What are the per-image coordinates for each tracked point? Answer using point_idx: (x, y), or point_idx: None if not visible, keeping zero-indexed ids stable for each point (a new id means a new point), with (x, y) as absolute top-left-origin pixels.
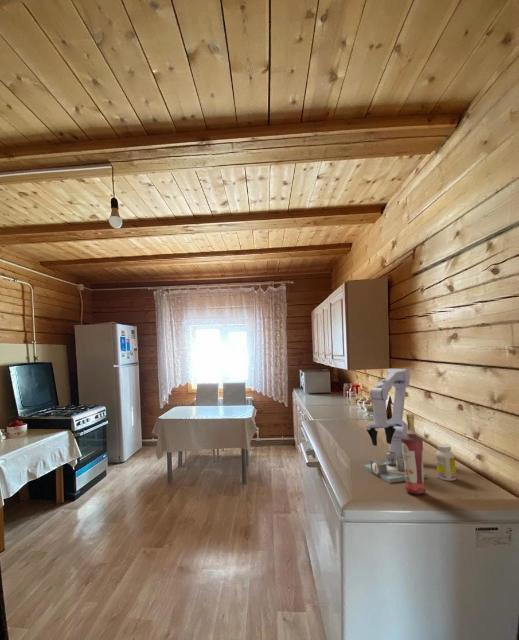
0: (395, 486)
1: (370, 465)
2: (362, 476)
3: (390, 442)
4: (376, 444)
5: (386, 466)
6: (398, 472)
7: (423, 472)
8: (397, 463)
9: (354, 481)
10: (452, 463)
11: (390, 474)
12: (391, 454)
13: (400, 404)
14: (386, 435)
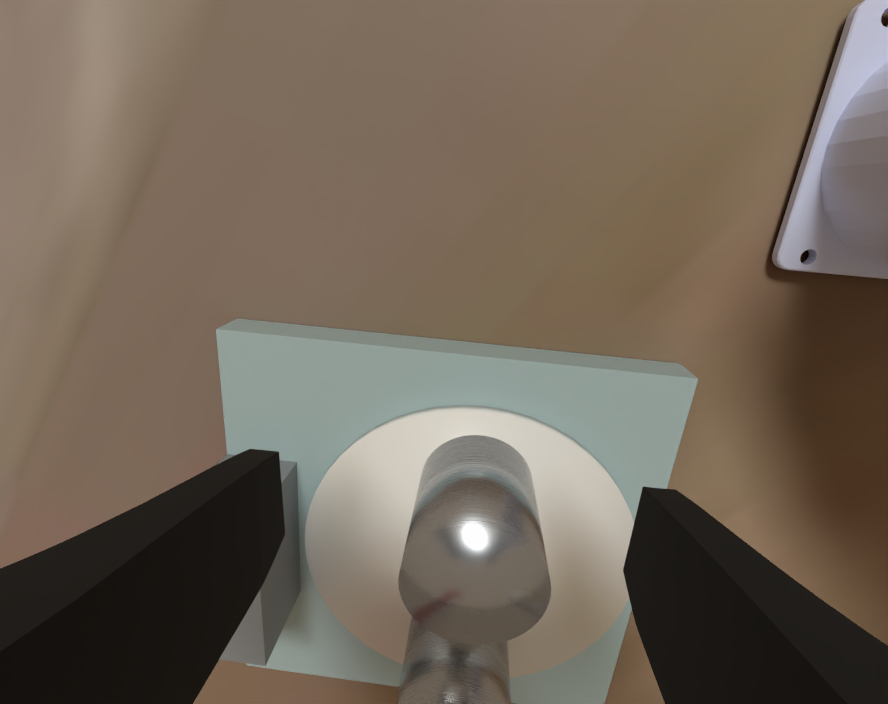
0: (265, 680)
1: (278, 374)
2: (131, 467)
3: (646, 610)
4: (264, 558)
5: (273, 645)
6: (380, 646)
7: (600, 693)
8: (400, 680)
9: (29, 517)
10: None
11: (312, 616)
12: (437, 632)
13: None
14: (761, 644)
